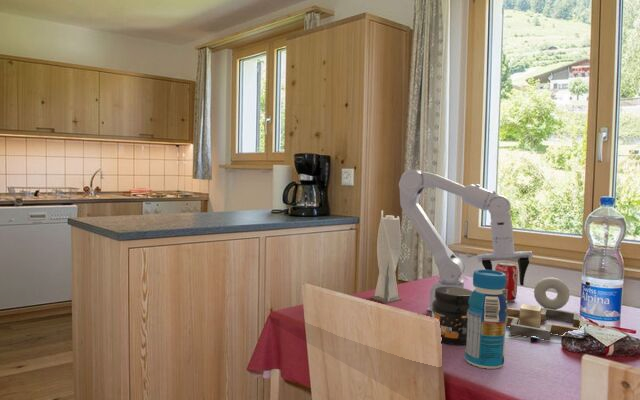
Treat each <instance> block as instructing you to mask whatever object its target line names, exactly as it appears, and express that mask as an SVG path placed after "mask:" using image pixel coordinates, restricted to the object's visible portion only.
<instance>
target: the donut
mask: <svg viewBox="0 0 640 400" xmlns="http://www.w3.org/2000/svg"><path fill="white" fill-rule="evenodd" d="M549 289H550V290H551V289H554V290H555V291H556V292H557V293H556V296H555V297H553V298H550V297H548V296H547V294H546V293H547V291H548V290H549ZM533 290H534V291H533V295H534V298H535V300H536V301H535V302H537V303H538V304H539V305H540V307H542V308H549V309H555V310H560V309H562V308H563V307H565V306H566V305H567V303H568V302H569V299H570V289H569V287H568V285H567V284H566V283H565V282H564V281H563V280H561V279H560V278H556V277H554V276H552V277H545V278H542V279H540V280H539V281H538V282H537V283H536V285H535V286H534V289H533Z"/></svg>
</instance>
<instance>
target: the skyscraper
mask: <svg viewBox="0 0 640 400" xmlns="http://www.w3.org/2000/svg"><path fill="white" fill-rule="evenodd" d="M401 231H402V230H401V222H400V216H399V215H397V216H396V217H395V215H392V214H390V215H389V214H388V215H385V217H384V210H381V213H380V221H379V226H378V231H377V232H378V233H377V240H376V257H377V259H376V260H377V265H378V270H379V273H378V276H377V277H378V278H377V283H376V287H375V292H374V295H372V296H370V298H371V299H374V300H375V301H379V302H382V303H386V304H388V303H393V302H398V301H402V300H403V298H402V297H399V293H398V284H397V277H396V276H397V275H396V270H397V267H398V265H399V264H398V263H399V259H400V254H401V247H402V246H401V245H402V235H401Z"/></svg>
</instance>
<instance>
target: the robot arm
mask: <svg viewBox="0 0 640 400" xmlns="http://www.w3.org/2000/svg"><path fill="white" fill-rule="evenodd" d="M398 188H399V204H400V208H401V210H402V211H403V212H404V213H405V215H406V217H407V218H408V220H409V221H410V223H411V224H412V226H413V228H414V229H415V231H416V232H417V233H418V236H419V237H420V238H421V241H423V242H424V244H425V246H426V248H427V249H428V250H429V252H430V253H431V255H432V257H433V260H434V263H435V266H436V267H437V269H438V275H439V277H438V281H437V282H436V283H434V284H433V285H432V286H431V287H430V291H429V292H430V293H429V307H427V309H426V310H427V311H430V312H432V302H433V300H434V299H435V297H434V295H435V289H436V288H438V287H460V288H464V285H465V280H464V279H463V277H462V274H463V273H464V272H465V269H466V267H465V263H464V261H463V260H462V259H461V258H459V257H458V256H456V255H455V254H454V252H453V251H452V250H451V249H450V248H449V247H448V245H447V244H446V242H445V241H444V239H443V238H442V237H441V235H440V233H439V231H437V229H436V228H435V226H434V225H433V223H432V221H431V220H430V219H429V217H428V215H427V214H426V212H425V210H424V209H423V208H422V206H421V205H420V204H419V202H420V199H421V198H420V197H421V195H422V192H423V190H424V189H425V188H426V189H427V188H437V189H439V190H442V191H445V192H448V193H451V194H454V195H456V196H459V197H460V198H461V200H462V201H463V203H465V204H467V205H469V206H471V207H473V208H477V209H480V210H482V211H488V212H489V215H490V232H491V234H490V235H491V242H492V243H491V244H492V252H491V253H482V254H480V253H479V254H476V257H477V263H482V266H483V268H484V270H493V264H492V262H495V261H496V262H500V261H510V260H511V261H515V260H517V266H518V277H519V278H518V280H519V285H520V286H523V287H524V283H525V276H526V272H527V269H528V266H529V264H530V260H533V252H532V250H528V251H527V250H522V251H521V250H520V251H515V241H514V231H513V221H512V220H511V219H512V215H511V212H510V210H511V201H510V199H509V198H508V197H506V196H504V195H503V194H497V193H498V192H497V191H495V190H493V191H490V190H487V189H486V188H483V187H481V184H478V183H476V184H473V183H472V184H469V185H465V186H464V185H463V184H461V183H458V182H455V181H453V180H451V179H448V178H446V177H444V176H441V175H440V174H436V173H433V172H429V171H423V170H421V169H407V170H406V171H404V172H402V174H401V176H400V179H399V182H398Z"/></svg>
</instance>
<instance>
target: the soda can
mask: <svg viewBox="0 0 640 400" xmlns="http://www.w3.org/2000/svg"><path fill="white" fill-rule="evenodd" d="M494 269H495V270H494V271H499V272H502V273H504V274H506V286H505V289H504V290H502V292H503V294H504V295H505V297H506V300H507V303H510V302H511V303H512V302H514V301H515V300H516V299H517V293H518V280H519V278H518V277H519V268H518V267H517V263H515V262H511V261H497V264H496V266H495V268H494Z"/></svg>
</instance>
